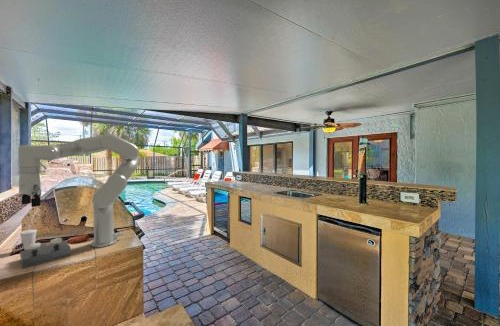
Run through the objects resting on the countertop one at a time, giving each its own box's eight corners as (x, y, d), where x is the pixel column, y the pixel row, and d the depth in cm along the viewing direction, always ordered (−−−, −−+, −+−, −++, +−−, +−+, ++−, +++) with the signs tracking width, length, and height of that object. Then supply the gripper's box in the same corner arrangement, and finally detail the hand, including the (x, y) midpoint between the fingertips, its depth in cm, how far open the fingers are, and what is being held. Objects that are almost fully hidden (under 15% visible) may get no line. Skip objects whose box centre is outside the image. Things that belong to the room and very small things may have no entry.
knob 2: (61, 245, 115) (61, 237, 115) (63, 248, 112) (62, 239, 112) (50, 248, 112) (49, 239, 112) (51, 251, 109) (51, 242, 109)
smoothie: (27, 252, 114) (25, 226, 113) (17, 251, 115) (16, 225, 114) (41, 247, 120) (39, 222, 119) (31, 246, 121) (30, 221, 120)
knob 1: (40, 251, 109) (39, 242, 109) (41, 253, 106) (41, 244, 106) (27, 254, 106) (27, 244, 105) (28, 257, 103) (28, 247, 103)
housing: (65, 247, 120) (65, 240, 119) (70, 254, 112) (70, 247, 111) (20, 259, 107) (20, 251, 106) (22, 268, 99) (22, 259, 99)
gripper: (11, 169, 108) (12, 204, 109) (28, 172, 100) (29, 209, 101) (31, 169, 115) (32, 201, 115) (48, 170, 107) (49, 205, 108)
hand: (31, 205), depth 108 cm, fingers open, 9 cm apart
